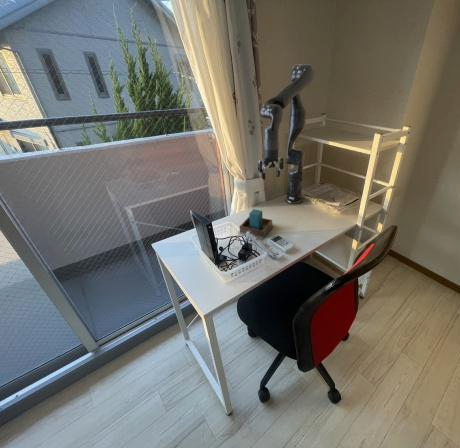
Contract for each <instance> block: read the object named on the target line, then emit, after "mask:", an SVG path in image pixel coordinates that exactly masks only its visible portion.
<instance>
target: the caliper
mask: <svg viewBox="0 0 460 448" xmlns="http://www.w3.org/2000/svg"><path fill="white" fill-rule="evenodd" d="M245 238H246V240H248V241H250V242H251V241H252V242H253V243H254V244H256V245H258V246H259V247H260V249H262V250H263V251H264V252H265V253H267V254H269V255H270V256H271V257H273V258H275V257H276V255H275V253H273V252H272V251H271V250H270V249H269V248H268V247H267V246H266V245H264V244H263V242H261V241H260V240H259V239H258V238H257V236H254V235H253V234H252V233H251V231H250V230H248V231H247V232H246V233H245Z"/></svg>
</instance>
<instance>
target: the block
mask: <svg viewBox="0 0 460 448" xmlns="http://www.w3.org/2000/svg"><path fill="white" fill-rule="evenodd" d="M248 215H249V216H248V217H249V218H250V228H253V229H257V230H261V229H262V227H263V218H264V217H263V210H261V209H255V208H253V209H252V210H251V211H250V212H249V214H248Z"/></svg>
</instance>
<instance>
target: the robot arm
mask: <svg viewBox="0 0 460 448" xmlns="http://www.w3.org/2000/svg"><path fill="white" fill-rule="evenodd" d="M314 78H315V69H314V66H313V65H312V64H310V63H296V64H293V66H292V68H291V71H290V82H289V83H288V84H286V85H284V86H283V87H282V88H281V89H280V90H279V91H278V92H277V93H276V95H275V96H273V97H271V98H269V99H268V100H266V101H265V102H263V104H262V106H261V107H260V112H259V113H260V116H261V118H262V119H264V120H267V121H271V123H270V124H267V125H265V126H264V127H263V159H261V160H260V159H258V160H257V172H259V173H260V177H261V179H262V180H263V181H265V180H266V172H267V170H268V169H271V168H275V177H276V178H280V176H281V170H283V169H284V158H283V157H282V156H279V145H280V143H279V130H280V126H281V122H282V119H283V115H284V113H283V112H284V111H283V110H285V109H286V107H287V106H288V105H289V104H290V105H289V106H290V107H289V116H288V117H289V118H288V133H287V134H288V137H287V144H286V152H285V163H286V164H287V165H290V166H291V165H292V166H296V167H294V168H290V169H288V170H287V179H286V182H287V183H286V198H285V200H286V202H287V203H289V204H299V203H301V201H302V186H303V177H304V176H303V174H304V164H305V159H306V157H305V156H306V152H305V150H303V149H300V148H299V149H298V148H294V145H295V143H296V141H297V139H298V137H299V135H300V134H301V133H302V132H303V130H304V128H305V127H306V120H307V110H306V106H305V105H304V102H303V100H302V97H301V92H302V91H303V90H305V89H306V88H307V87H309V86H310V85H311V83H312V82H313V81H314Z"/></svg>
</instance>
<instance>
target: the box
mask: <svg viewBox="0 0 460 448" xmlns="http://www.w3.org/2000/svg"><path fill="white" fill-rule="evenodd" d="M262 218H263V227H262V229H261V230H257V229H253V228H250V218H249V216H248V217H247V218H246V219H245V220H244V221H243V222H242V223H241V224H240V225H239V233H241V234H246V232H247V231H248V230H250V231H251V233H252V234H253V235H254V236H255V237H259V238H261V239H262V238H265V236H266V234H267V233H268V232H269V231H270V229H271V228H272V227H273V220H272V219H269V218H264V217H262Z"/></svg>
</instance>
